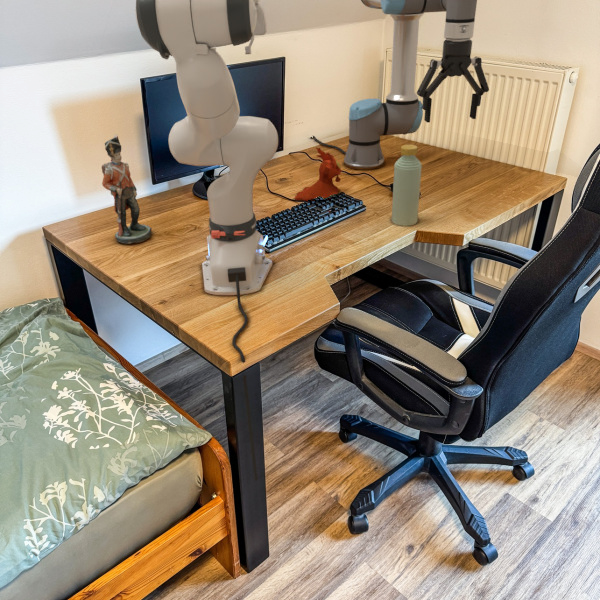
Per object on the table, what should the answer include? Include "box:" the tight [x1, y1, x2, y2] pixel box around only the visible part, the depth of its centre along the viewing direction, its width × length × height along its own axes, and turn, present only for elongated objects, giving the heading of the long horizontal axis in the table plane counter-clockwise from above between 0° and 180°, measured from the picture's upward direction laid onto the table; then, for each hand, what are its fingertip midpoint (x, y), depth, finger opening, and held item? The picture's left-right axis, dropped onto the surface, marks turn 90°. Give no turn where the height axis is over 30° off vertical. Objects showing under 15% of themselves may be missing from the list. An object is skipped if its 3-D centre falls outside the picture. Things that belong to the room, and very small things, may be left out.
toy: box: [294, 147, 342, 202], centre depth 188 cm, size 13×18×15 cm
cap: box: [400, 144, 418, 156], centre depth 160 cm, size 5×5×2 cm
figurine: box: [101, 134, 152, 245], centre depth 160 cm, size 11×11×30 cm
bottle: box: [391, 154, 423, 227], centre depth 166 cm, size 8×8×22 cm
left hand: (231, 54), depth 151 cm, fingers open, 8 cm apart
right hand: (449, 119), depth 162 cm, fingers open, 13 cm apart
